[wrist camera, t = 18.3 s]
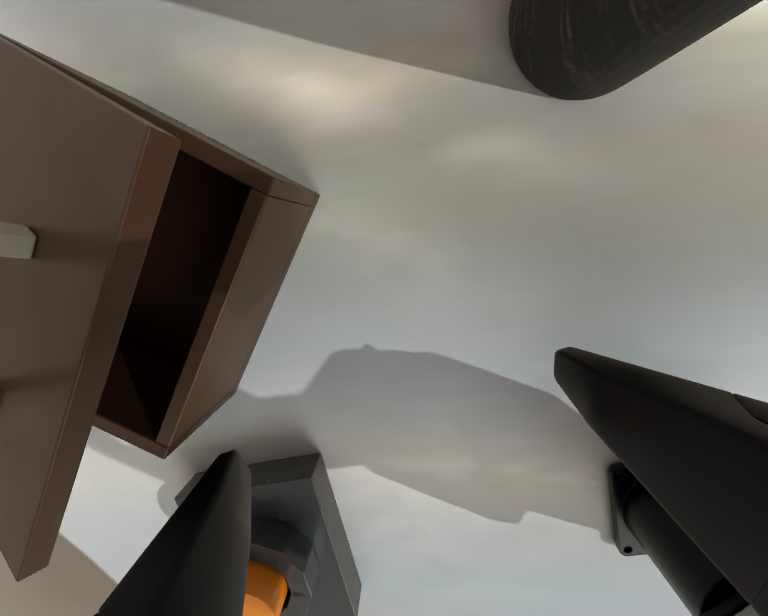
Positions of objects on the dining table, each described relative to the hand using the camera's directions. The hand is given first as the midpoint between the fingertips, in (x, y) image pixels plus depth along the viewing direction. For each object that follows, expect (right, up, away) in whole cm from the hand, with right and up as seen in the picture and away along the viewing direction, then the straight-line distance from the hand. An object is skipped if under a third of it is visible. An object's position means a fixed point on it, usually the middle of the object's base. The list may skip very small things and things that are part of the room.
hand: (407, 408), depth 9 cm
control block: (-8, -13, +14) cm, 21 cm away
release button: (-8, -14, +11) cm, 19 cm away
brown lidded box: (-12, +6, +10) cm, 17 cm away
